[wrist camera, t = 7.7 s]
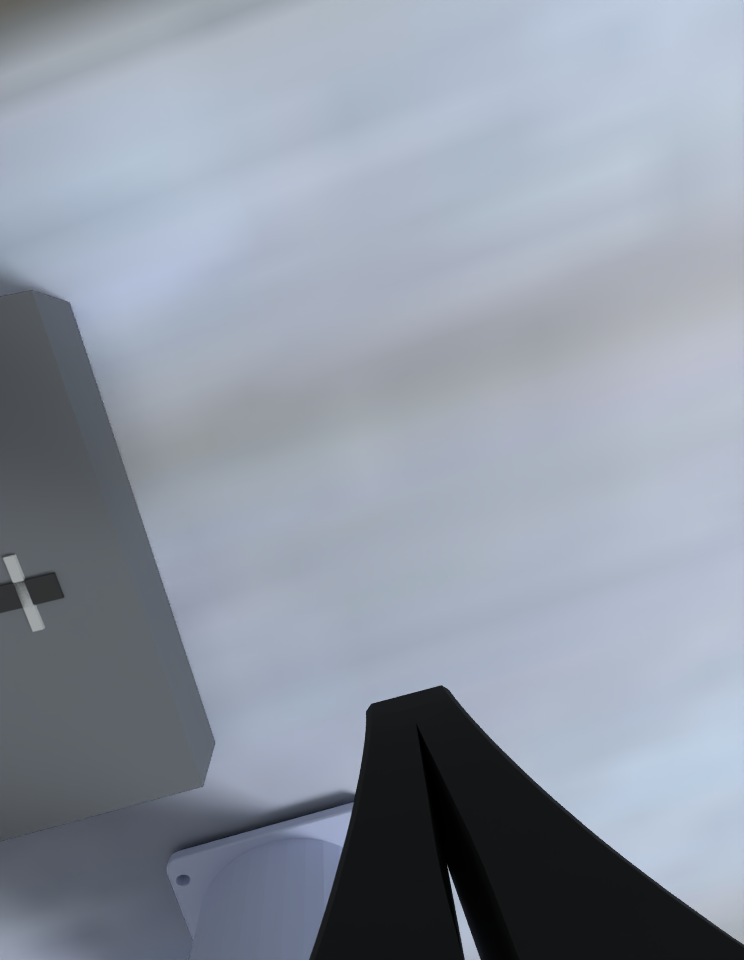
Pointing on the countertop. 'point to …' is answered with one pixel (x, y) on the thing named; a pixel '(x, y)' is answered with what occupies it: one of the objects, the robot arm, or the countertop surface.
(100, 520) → the panel
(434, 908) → the robot arm
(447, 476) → the countertop surface
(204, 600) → the countertop surface
